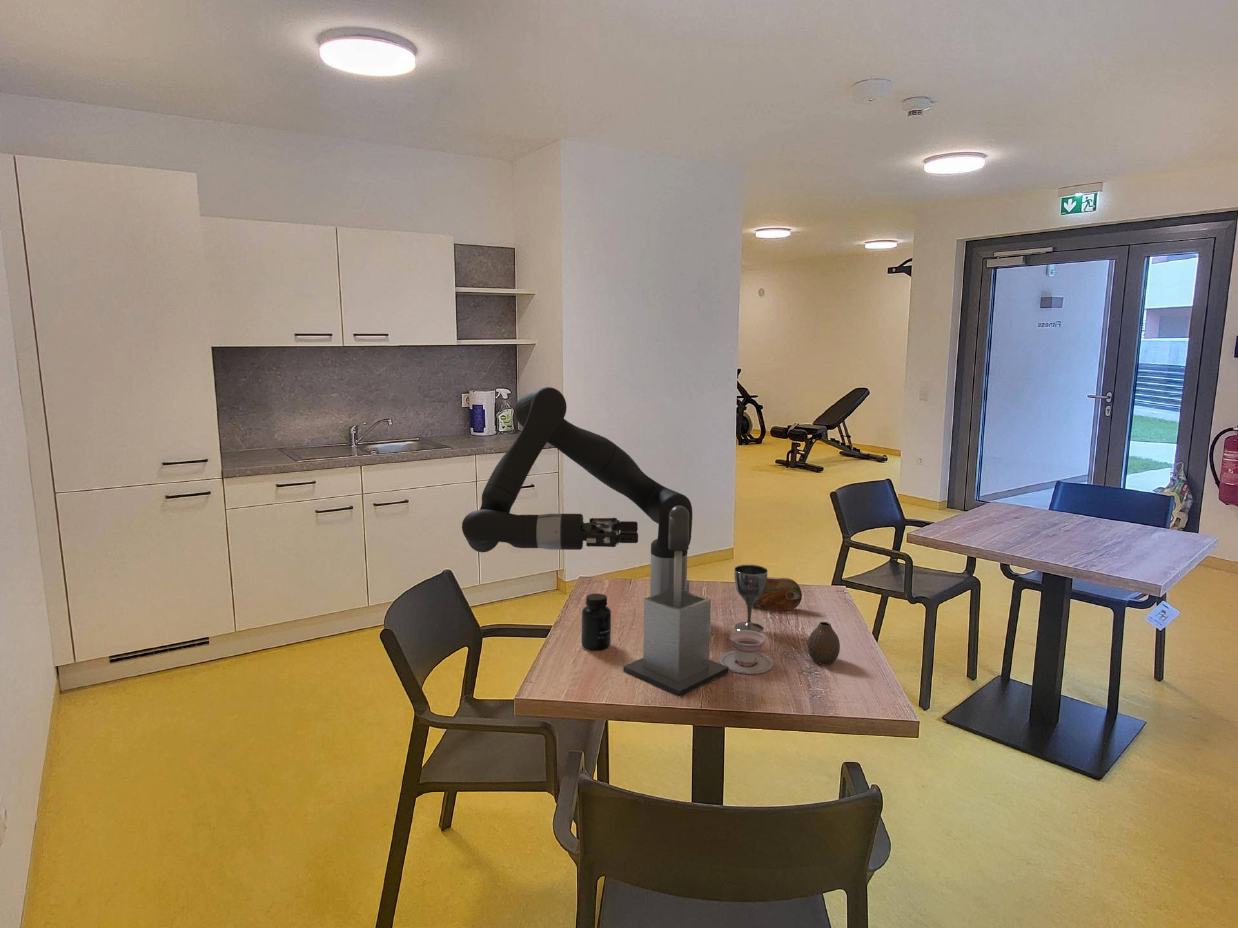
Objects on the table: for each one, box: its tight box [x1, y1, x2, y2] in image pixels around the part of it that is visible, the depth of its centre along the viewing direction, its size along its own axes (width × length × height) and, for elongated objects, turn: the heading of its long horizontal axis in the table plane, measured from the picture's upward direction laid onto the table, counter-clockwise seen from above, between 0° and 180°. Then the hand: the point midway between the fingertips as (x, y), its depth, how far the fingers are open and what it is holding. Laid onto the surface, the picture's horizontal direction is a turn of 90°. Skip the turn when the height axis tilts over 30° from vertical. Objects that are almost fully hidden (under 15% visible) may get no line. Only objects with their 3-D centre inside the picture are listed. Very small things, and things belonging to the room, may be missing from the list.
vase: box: [807, 621, 841, 665], centre depth 167 cm, size 7×7×9 cm
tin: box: [752, 576, 803, 612], centre depth 200 cm, size 15×3×8 cm, turn 77°
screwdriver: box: [668, 506, 690, 609], centre depth 158 cm, size 8×8×25 cm
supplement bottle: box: [580, 593, 612, 652], centre depth 175 cm, size 7×7×12 cm
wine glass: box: [733, 564, 768, 633], centre depth 186 cm, size 8×8×15 cm
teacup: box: [718, 630, 774, 675], centre depth 167 cm, size 12×12×6 cm
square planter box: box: [622, 589, 730, 697], centre depth 161 cm, size 16×16×16 cm
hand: (637, 531), depth 157 cm, fingers open, 8 cm apart
